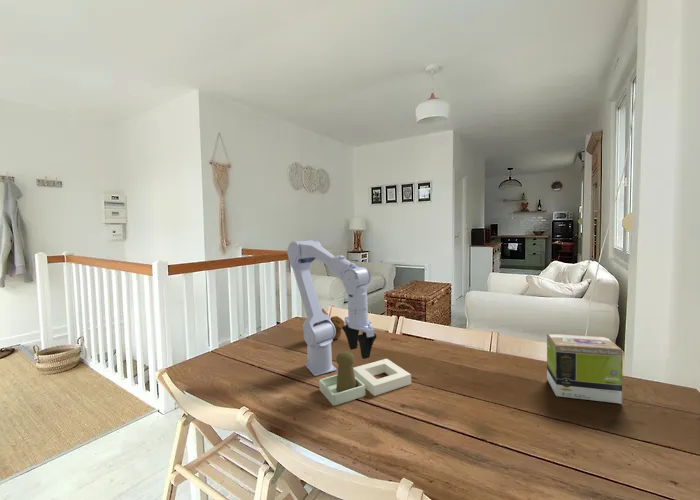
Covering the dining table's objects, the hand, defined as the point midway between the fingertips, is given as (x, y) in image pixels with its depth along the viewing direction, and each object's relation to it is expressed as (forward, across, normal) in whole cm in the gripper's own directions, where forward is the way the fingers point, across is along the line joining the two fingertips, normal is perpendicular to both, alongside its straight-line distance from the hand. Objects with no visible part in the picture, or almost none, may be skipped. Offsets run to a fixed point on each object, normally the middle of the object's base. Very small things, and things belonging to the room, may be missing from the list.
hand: (359, 353), depth 95 cm
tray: (+10, 0, +6) cm, 12 cm away
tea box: (+11, -34, -52) cm, 62 cm away
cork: (+10, 0, +5) cm, 11 cm away
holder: (+10, 0, -7) cm, 13 cm away
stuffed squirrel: (+11, +41, -7) cm, 43 cm away
